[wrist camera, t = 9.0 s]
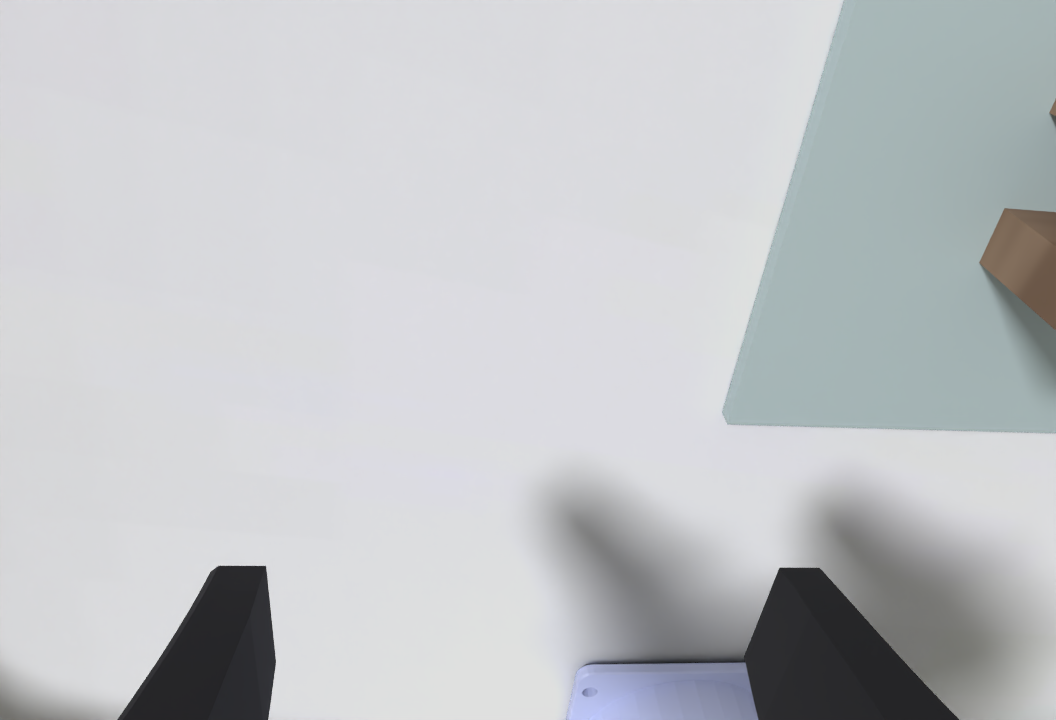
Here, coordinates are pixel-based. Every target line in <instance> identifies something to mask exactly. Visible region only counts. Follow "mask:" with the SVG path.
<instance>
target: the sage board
mask: <svg viewBox="0 0 1056 720" xmlns="http://www.w3.org/2000/svg"><path fill="white" fill-rule="evenodd" d="M1055 99H1056V0H844V3H843V7H842V10H841V13H840V17H839V20H838V24H837V27H836V30H835V34H834V37H833V40H832V44H831V47H830V51H829V54H828V57H827V61H826V64H825V67H824V71H823V74H822V77H821V81H820V84H819V88H818V91H817V94H816V98H815V101H814V104H813V108H812V111H811V115H810V118H809V121H808V125H807V128H806V131H805V135H804V138H803V142H802V145H801V148H800V152H799V155H798V158H797V162H796V165H795V169H794V172H793V175H792V179H791V182H790V185H789V189H788V192H787V196H786V199H785V202H784V206H783V209H782V212H781V216H780V219H779V223H778V226H777V229H776V233H775V236H774V239H773V243H772V246H771V250H770V253H769V256H768V260H767V263H766V266H765V270H764V273H763V277H762V280H761V283H760V287H759V290H758V293H757V297H756V300H755V304H754V307H753V310H752V314H751V317H750V320H749V324H748V327H747V330H746V334H745V337H744V341H743V344H742V347H741V351H740V354H739V357H738V361H737V364H736V368H735V371H734V374H733V378H732V381H731V384H730V388H729V391H728V395H727V398H726V401H725V405H724V408H723V411H722V413H723V416H724V418H725V420H726V422H727V424H730V425H767V426H805V427H842V428H879V429H916V430H953V431H990V432H1027V433H1056V330H1054V329H1053V328H1052V327H1051V326H1050V325H1049V324H1048V323H1047V322H1045V321H1044V320H1043V319H1042V318H1041V317H1040V316H1039V315H1038V314H1036V313H1035V312H1034V311H1033V310H1032V309H1031V308H1030V307H1028V306H1027V305H1026V304H1025V303H1024V302H1023V301H1022V300H1021V299H1019V298H1018V297H1017V296H1016V295H1015V294H1014V293H1013V292H1012V291H1010V290H1009V289H1008V288H1007V287H1006V286H1005V285H1004V284H1002V283H1001V282H1000V281H999V280H998V279H997V278H996V277H995V276H993V275H992V274H991V273H990V272H989V271H988V270H987V269H986V268H984V267H983V266H982V265H981V264H980V263H979V262H980V260H981V257H982V255H983V253H984V251H985V249H986V247H987V245H988V243H989V240H990V238H991V236H992V234H993V232H994V230H995V228H996V225H997V223H998V221H999V219H1000V217H1001V215H1002V213H1003V210H1004V208H1009V209H1022V210H1035V211H1048V212H1056V116H1054V115H1053V114H1051V113H1049V112H1050V110H1051V108H1052V106H1053V104H1054V101H1055Z"/></svg>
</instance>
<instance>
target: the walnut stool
mask: <svg viewBox="0 0 1056 720" xmlns="http://www.w3.org/2000/svg"><path fill="white" fill-rule="evenodd" d="M1049 113H1051V114H1053V115H1054V116H1056V99H1055V101H1054V104H1053V106H1052V108H1051V110H1050V112H1049ZM979 263H980V264H981V265H982V266H983V267H984V268H986V269H987V270H988V271H989V272H990V273H991V274H992V275H993V276H995V277H996V278H997V279H998V280H999V281H1000V282H1001V283H1002V284H1004V285H1005V286H1006V287H1007V288H1008V289H1009V290H1010V291H1012V292H1013V293H1014V294H1015V295H1016V296H1017V297H1018V298H1019V299H1021V300H1022V301H1023V302H1024V303H1025V304H1026V305H1027V306H1028V307H1030V308H1031V309H1032V310H1033V311H1034V312H1035V313H1036V314H1038V315H1039V316H1040V317H1041V318H1042V319H1043V320H1044V321H1045V322H1047V323H1048V324H1049V325H1050V326H1051V327H1052V328H1053V329H1054V330H1056V212H1048V211H1035V210H1022V209H1009V208H1004V210H1003V213H1002V215H1001V217H1000V219H999V221H998V223H997V225H996V228H995V230H994V232H993V234H992V236H991V238H990V240H989V243H988V245H987V247H986V249H985V251H984V253H983V255H982V257H981V260H980V262H979Z"/></svg>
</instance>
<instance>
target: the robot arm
mask: <svg viewBox="0 0 1056 720" xmlns="http://www.w3.org/2000/svg"><path fill="white" fill-rule="evenodd" d="M744 658H745V663H667V664H592V665H586V666H583V667H582V668H580V669H579V670H578V671H577V673H576V676H575V680H574V685H573V689H572V694H571V698H570V703H569V707H568V712H567V716H566V720H959V719H958V718H957V717H956V716H955V715H954V714H953V713H952V712H951V711H950V710H949V709H948V708H947V707H946V706H945V705H944V704H943V703H942V702H941V700H940V699H939V698H938V697H937V696H936V695H935V694H934V693H933V692H932V691H931V690H930V689H929V688H928V687H927V686H926V685H925V684H924V683H923V682H922V680H921V679H920V678H919V677H918V676H917V675H916V674H915V673H914V672H913V671H912V670H911V669H910V668H909V667H908V665H907V664H906V663H905V662H904V661H903V660H902V659H901V658H900V657H899V656H898V655H897V653H896V652H895V651H894V650H893V649H892V648H891V647H890V646H889V645H888V644H887V642H886V641H885V640H884V639H883V638H882V637H881V636H880V635H879V634H878V632H877V631H876V630H875V629H874V628H873V627H872V626H871V625H870V624H869V622H868V621H867V620H866V619H865V618H864V617H863V616H862V615H861V613H860V612H859V611H858V610H857V609H856V608H855V607H854V606H853V604H852V603H851V602H850V601H849V600H848V599H847V598H846V597H845V596H844V594H843V593H842V592H841V591H840V590H839V589H838V588H837V587H836V585H835V584H834V583H833V582H832V581H831V580H830V579H829V578H828V577H827V576H826V574H825V573H824V572H823V571H822V570H821V569H820V568H779V570H778V573H777V575H776V578H775V580H774V583H773V585H772V588H771V591H770V593H769V596H768V598H767V601H766V603H765V606H764V608H763V611H762V613H761V616H760V618H759V621H758V623H757V626H756V628H755V631H754V633H753V636H752V638H751V641H750V643H749V646H748V648H747V651H746V653H745V656H744ZM275 665H276V659H275V649H274V640H273V630H272V620H271V610H270V601H269V591H268V581H267V572H266V566H218V567H217V568H215V569H214V570H212V571H211V572H210V574H209V576H208V578H207V580H206V582H205V583H204V585H203V587H202V589H201V591H200V593H199V594H198V596H197V598H196V600H195V601H194V603H193V605H192V607H191V608H190V610H189V612H188V613H187V615H186V617H185V618H184V620H183V622H182V623H181V625H180V627H179V628H178V630H177V631H176V633H175V635H174V636H173V638H172V639H171V641H170V642H169V644H168V646H167V647H166V649H165V650H164V652H163V654H162V655H161V657H160V658H159V660H158V661H157V663H156V664H155V666H154V667H153V669H152V670H151V672H150V673H149V675H148V676H147V677H146V679H145V680H144V682H143V683H142V685H141V686H140V688H139V689H138V691H137V692H136V694H135V695H134V696H133V698H132V699H131V701H130V702H129V704H128V705H127V707H126V708H125V710H124V711H123V713H122V714H121V715H120V717H119V718H118V720H268V716H269V709H270V702H271V695H272V687H273V680H274V672H275Z"/></svg>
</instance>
